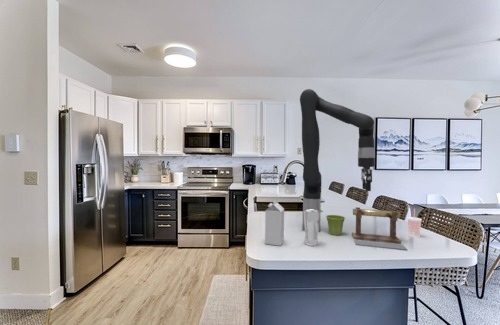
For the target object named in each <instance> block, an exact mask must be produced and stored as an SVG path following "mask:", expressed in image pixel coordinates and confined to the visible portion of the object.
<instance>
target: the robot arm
mask: <svg viewBox="0 0 500 325" xmlns="http://www.w3.org/2000/svg"><path fill="white" fill-rule="evenodd" d="M299 97H300V98H299V103H300V110H301V146H302V154H303V155H302V156H303V172H302V180H303V183H304V184H303V193H302V194H303V195H302V200H303V201H302V203H303V204H302V231H305V228H304V210H306V209H315V210H319V214H320V219H321V210H322V208H321V207H322V206H321V202H322V200H321V199H322V174H321V171H320V166H319V152H320V140H321V138H320V129H319V123H318V119H317V113H316V112H320V113H322V114H325V115H328V116H330V117H332V118H334V119H336V120H338V121H340V122H343V123H345V124H348V125H352V126H354V127H355V128H358V141H357V142H358V150H357V166H358V167H359V168H361V169H360V170H361V171H360V174H361V175H360V176H361V178H360V179H361V182H362V183H361V184H362V189H363V190H365V192H371V190H372V182H373V169H372V168H374V167H375V166H376V151H375V138H374V134H375V133H374V132H375V130H374V129H375V120H374V118H373V117H371V116H370V115H368V114H365V113H361V112H358V111H355V110H353V109H350V108H348V107H346V106H344V105H341V104H335V103H333V102H330V101H327V100H325V99H324V98H322V97H321V96H319V95H318V93H317V92H316V91H314V90H313V89H310V88H308V89H304V90H303V91H302V92H301V94H300V96H299ZM318 232H321V223H320V224H319V230H318Z"/></svg>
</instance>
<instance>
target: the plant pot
mask: <svg viewBox="0 0 500 325" xmlns="http://www.w3.org/2000/svg"><path fill="white" fill-rule="evenodd" d="M325 218H326V221H327V226H328V234H330V235H335V236H340V235H342V233H343V226H344V222H345V220H346V217H345V216H343V215H337V214H328V215H326V216H325Z"/></svg>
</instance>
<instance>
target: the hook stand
mask: <svg viewBox="0 0 500 325" xmlns="http://www.w3.org/2000/svg"><path fill="white" fill-rule="evenodd" d="M355 209H357V215H355V232H351V236H352V239H353V240H362V241H372V242H382V243H392V244H401V245H402V240H400V238H399V237H397V222H398V219H399V218H398V212H399V211H397V212H392V218H390V217H388V218H389V235H381V234H370V233H363V232H362V218H363V217H362V216H363V215H362V210H361V209H362V208H361V207H357V206H356V207H355ZM388 211H395V209H391V208H390V209H388Z"/></svg>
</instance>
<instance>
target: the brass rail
mask: <svg viewBox="0 0 500 325" xmlns="http://www.w3.org/2000/svg"><path fill="white" fill-rule="evenodd" d="M360 209H361V210H362V216H363V217H364V216H365V217H377V218H378V217H379V218H389V217H390V218H392V212H398V218H397V219H400V218H401V212H400V211H395V210H394V211H389V210H379V209H378V210H376V209H364V208H363V209H362V208H360ZM352 215H353V216H356V215H357V209H356V208H352ZM390 218H389V219H390Z"/></svg>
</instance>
